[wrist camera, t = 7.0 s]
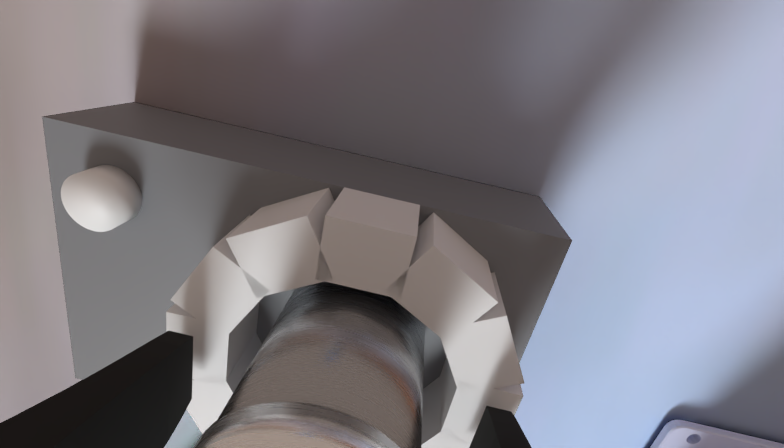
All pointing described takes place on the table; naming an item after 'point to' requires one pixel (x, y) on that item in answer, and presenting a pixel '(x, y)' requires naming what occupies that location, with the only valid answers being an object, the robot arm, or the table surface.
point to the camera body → (289, 252)
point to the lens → (330, 377)
